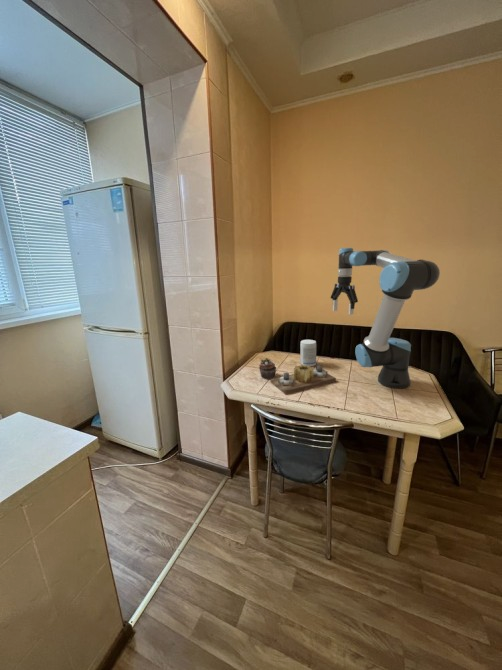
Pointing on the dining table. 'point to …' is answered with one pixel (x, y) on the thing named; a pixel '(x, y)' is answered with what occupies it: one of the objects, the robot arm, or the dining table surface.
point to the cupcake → (267, 369)
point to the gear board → (291, 385)
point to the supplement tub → (308, 352)
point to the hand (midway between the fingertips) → (342, 312)
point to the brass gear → (303, 373)
